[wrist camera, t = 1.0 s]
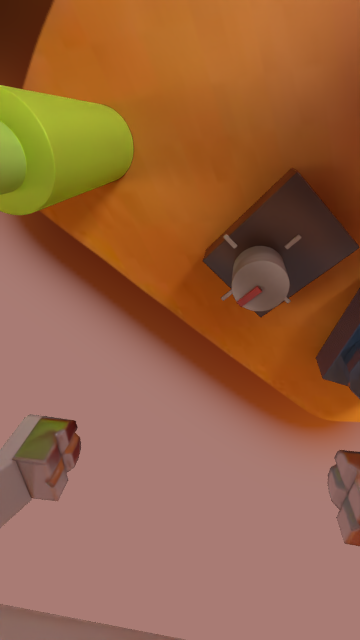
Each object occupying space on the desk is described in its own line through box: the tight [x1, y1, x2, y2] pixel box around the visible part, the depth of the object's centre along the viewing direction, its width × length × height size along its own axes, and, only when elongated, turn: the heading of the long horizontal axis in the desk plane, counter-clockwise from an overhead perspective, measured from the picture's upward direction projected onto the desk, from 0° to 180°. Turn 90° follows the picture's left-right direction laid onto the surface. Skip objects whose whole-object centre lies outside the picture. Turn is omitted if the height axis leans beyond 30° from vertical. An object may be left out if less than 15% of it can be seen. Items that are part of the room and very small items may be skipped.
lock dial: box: [232, 246, 290, 311], centre depth 25 cm, size 4×4×4 cm
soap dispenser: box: [0, 85, 134, 215], centre depth 18 cm, size 6×7×20 cm
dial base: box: [203, 168, 359, 317], centre depth 27 cm, size 11×9×3 cm
